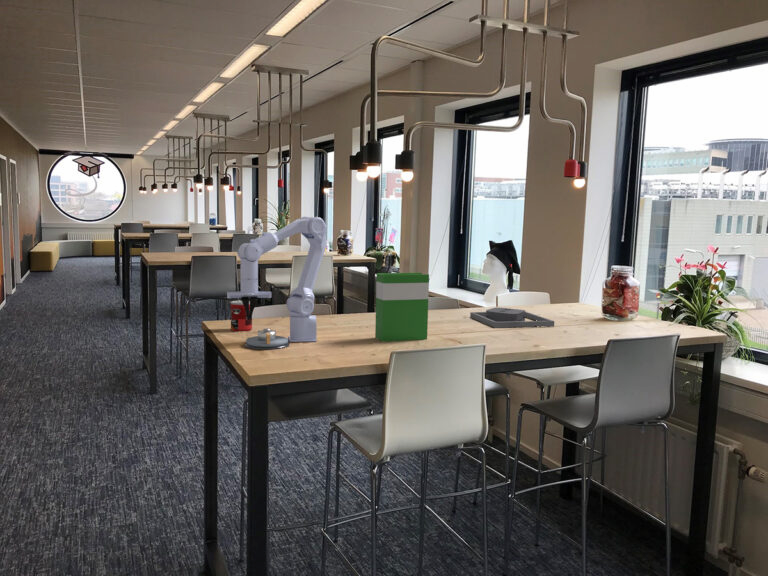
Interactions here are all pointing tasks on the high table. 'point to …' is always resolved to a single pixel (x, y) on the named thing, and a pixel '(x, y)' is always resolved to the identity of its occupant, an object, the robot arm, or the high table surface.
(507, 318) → the streaming box
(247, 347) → the turntable base
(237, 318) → the canned food
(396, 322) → the green cereal box
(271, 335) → the cover
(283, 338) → the turntable
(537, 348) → the high table surface
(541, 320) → the black tray rim
